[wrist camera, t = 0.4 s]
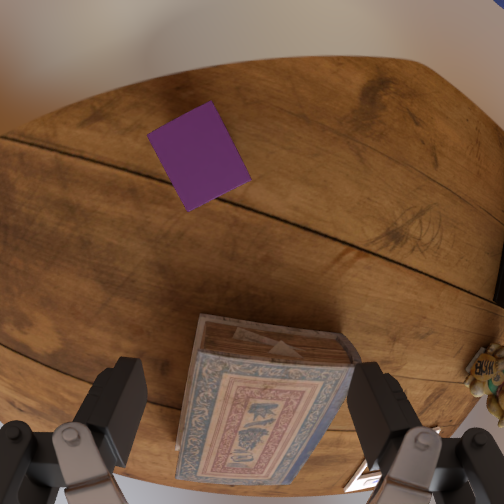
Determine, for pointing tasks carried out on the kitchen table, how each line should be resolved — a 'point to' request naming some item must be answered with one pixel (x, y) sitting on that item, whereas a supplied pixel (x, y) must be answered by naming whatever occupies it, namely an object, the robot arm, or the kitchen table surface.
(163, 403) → the kitchen table surface
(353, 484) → the photo frame
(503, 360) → the decorative figurine
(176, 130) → the chocolate bar
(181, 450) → the book
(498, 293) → the waste bin
